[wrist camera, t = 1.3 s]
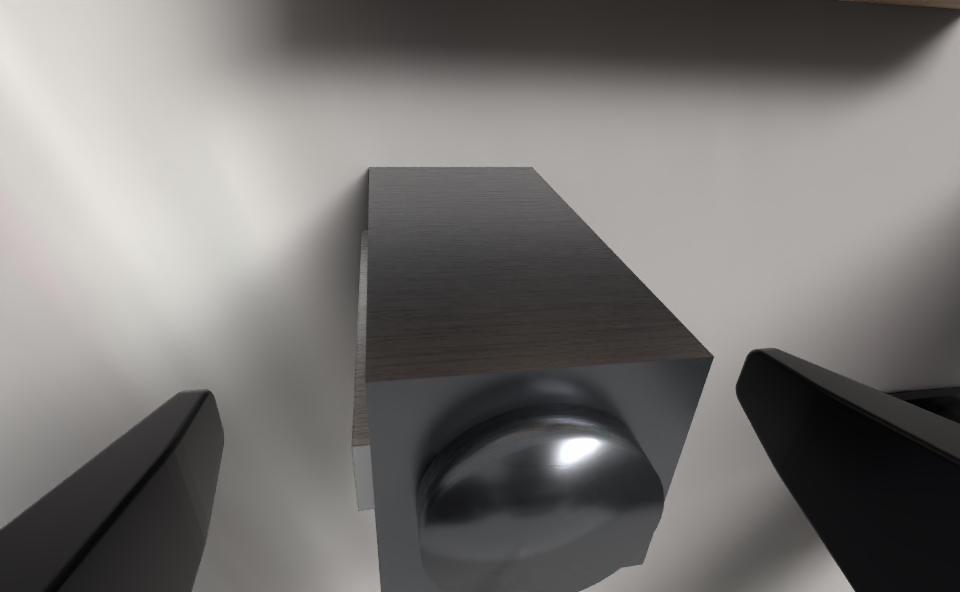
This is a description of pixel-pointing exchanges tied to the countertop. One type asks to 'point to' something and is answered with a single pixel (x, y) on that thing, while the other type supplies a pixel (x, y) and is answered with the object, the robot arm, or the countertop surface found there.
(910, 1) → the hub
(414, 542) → the peg
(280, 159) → the countertop surface
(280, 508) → the countertop surface
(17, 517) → the robot arm
